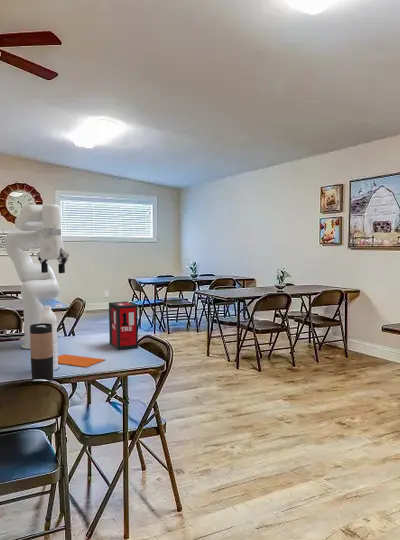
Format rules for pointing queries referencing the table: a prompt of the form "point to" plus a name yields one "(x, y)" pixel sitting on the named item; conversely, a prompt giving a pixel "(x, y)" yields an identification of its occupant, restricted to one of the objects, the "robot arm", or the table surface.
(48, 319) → the water bottle
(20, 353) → the table surface
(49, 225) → the robot arm
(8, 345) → the table surface
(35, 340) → the travel mug
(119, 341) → the cleaning product box
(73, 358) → the cloth
